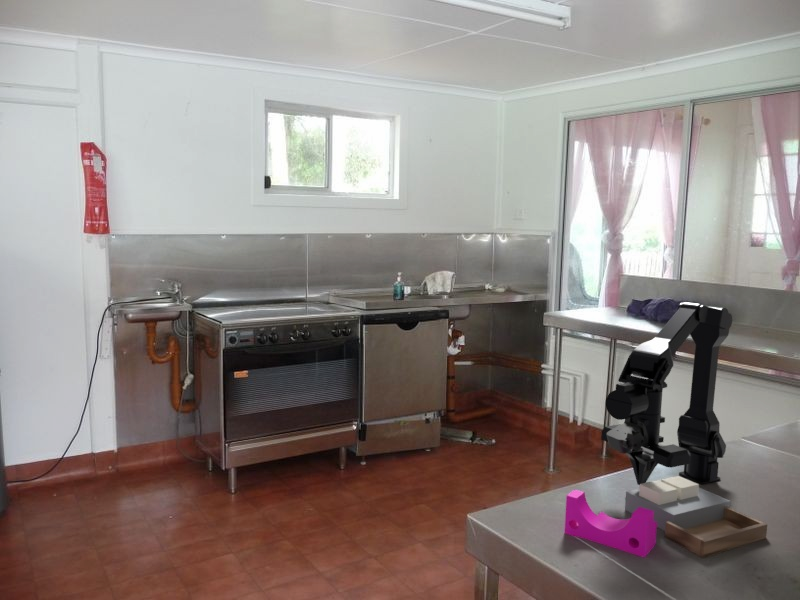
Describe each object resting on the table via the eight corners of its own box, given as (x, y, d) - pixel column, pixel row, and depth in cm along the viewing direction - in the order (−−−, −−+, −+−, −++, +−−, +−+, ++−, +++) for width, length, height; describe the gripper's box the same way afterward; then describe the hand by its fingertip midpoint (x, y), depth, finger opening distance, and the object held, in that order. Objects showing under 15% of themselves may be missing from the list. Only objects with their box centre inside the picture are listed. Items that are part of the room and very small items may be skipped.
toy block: (655, 545, 125) (658, 506, 124) (644, 558, 120) (647, 518, 119) (577, 522, 134) (579, 485, 133) (564, 533, 129) (566, 495, 128)
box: (664, 537, 127) (665, 522, 127) (725, 521, 135) (727, 506, 135) (703, 558, 120) (704, 541, 119) (765, 539, 127) (767, 524, 127)
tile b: (660, 490, 139) (661, 479, 139) (677, 486, 142) (678, 475, 141) (680, 499, 135) (681, 488, 135) (697, 495, 137) (698, 484, 137)
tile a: (639, 495, 137) (639, 484, 136) (656, 491, 139) (657, 480, 139) (658, 504, 132) (659, 493, 132) (676, 500, 135) (677, 489, 134)
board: (624, 510, 139) (626, 491, 138) (680, 497, 146) (681, 479, 146) (672, 535, 128) (673, 515, 128) (729, 520, 136) (730, 500, 135)
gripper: (583, 403, 142) (579, 475, 144) (652, 428, 126) (647, 509, 128) (623, 398, 147) (618, 467, 149) (694, 422, 131) (688, 499, 133)
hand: (640, 485), depth 139 cm, fingers closed
